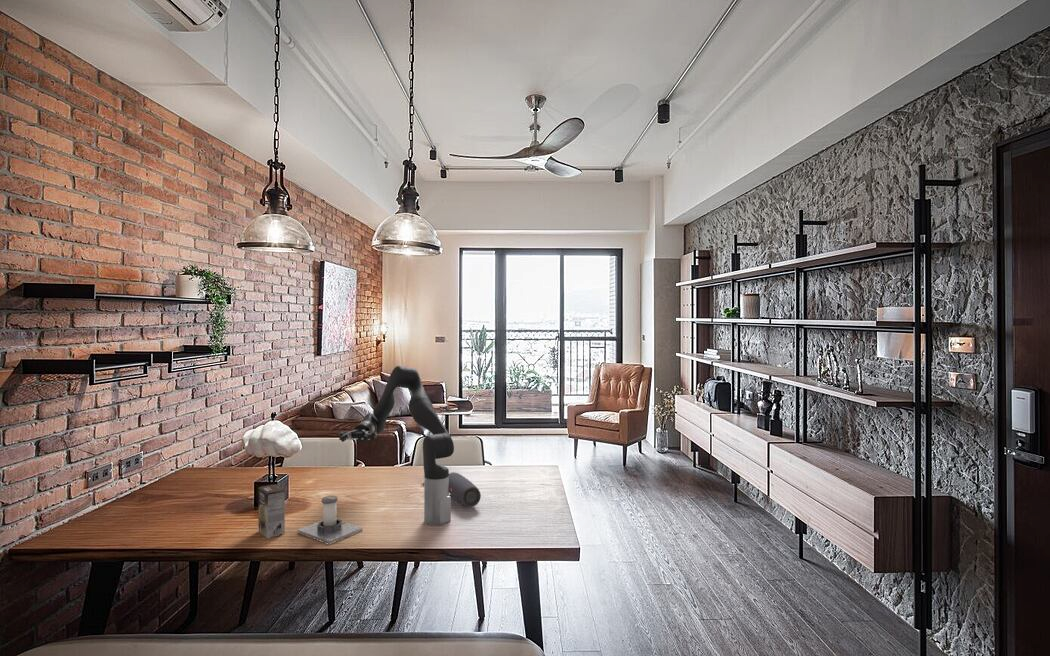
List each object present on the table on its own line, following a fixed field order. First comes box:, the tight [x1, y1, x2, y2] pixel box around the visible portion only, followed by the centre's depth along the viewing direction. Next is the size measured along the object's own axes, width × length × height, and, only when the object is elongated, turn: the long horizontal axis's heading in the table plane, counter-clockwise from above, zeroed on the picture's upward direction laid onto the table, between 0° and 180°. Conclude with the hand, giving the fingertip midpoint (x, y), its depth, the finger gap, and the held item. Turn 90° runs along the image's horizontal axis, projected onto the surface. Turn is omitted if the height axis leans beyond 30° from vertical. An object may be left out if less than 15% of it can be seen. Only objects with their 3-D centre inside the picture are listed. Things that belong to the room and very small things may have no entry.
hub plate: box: [296, 518, 363, 545], centre depth 189 cm, size 18×14×3 cm
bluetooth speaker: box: [449, 472, 482, 508], centre depth 222 cm, size 23×9×10 cm, turn 27°
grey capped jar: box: [321, 495, 339, 527], centre depth 189 cm, size 5×5×11 cm
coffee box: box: [257, 483, 286, 539], centre depth 188 cm, size 9×6×16 cm
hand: (353, 439), depth 209 cm, fingers open, 8 cm apart
